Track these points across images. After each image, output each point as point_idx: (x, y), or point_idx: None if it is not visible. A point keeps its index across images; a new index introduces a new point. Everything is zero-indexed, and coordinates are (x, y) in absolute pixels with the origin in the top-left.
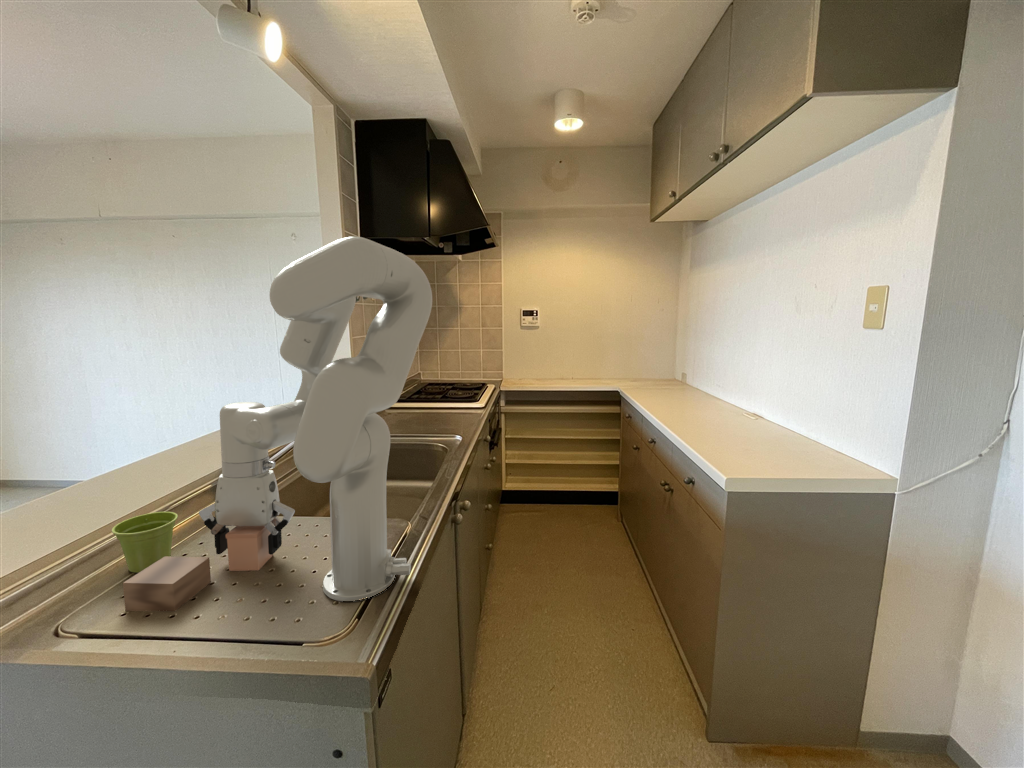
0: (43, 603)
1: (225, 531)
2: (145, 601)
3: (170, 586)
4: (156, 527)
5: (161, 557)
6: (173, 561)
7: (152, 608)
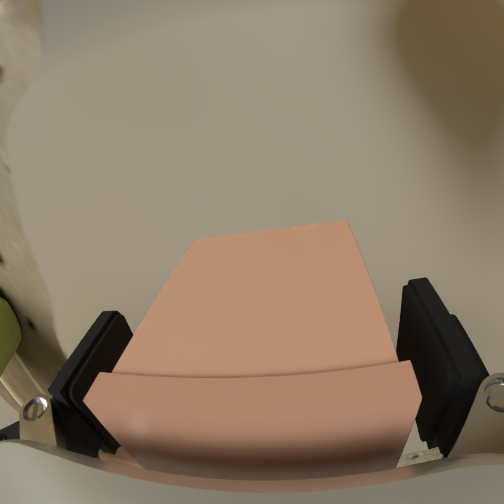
0: (19, 402)
1: (91, 420)
2: None
3: None
4: None
5: (5, 342)
6: None
7: None
